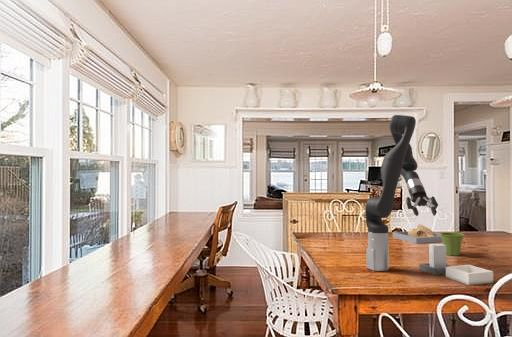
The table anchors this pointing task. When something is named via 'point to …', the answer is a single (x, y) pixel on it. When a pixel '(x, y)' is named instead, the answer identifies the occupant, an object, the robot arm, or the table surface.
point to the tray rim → (415, 240)
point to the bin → (469, 274)
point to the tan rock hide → (421, 232)
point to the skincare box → (437, 255)
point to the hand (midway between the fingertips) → (426, 214)
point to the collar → (433, 269)
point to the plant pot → (452, 242)
